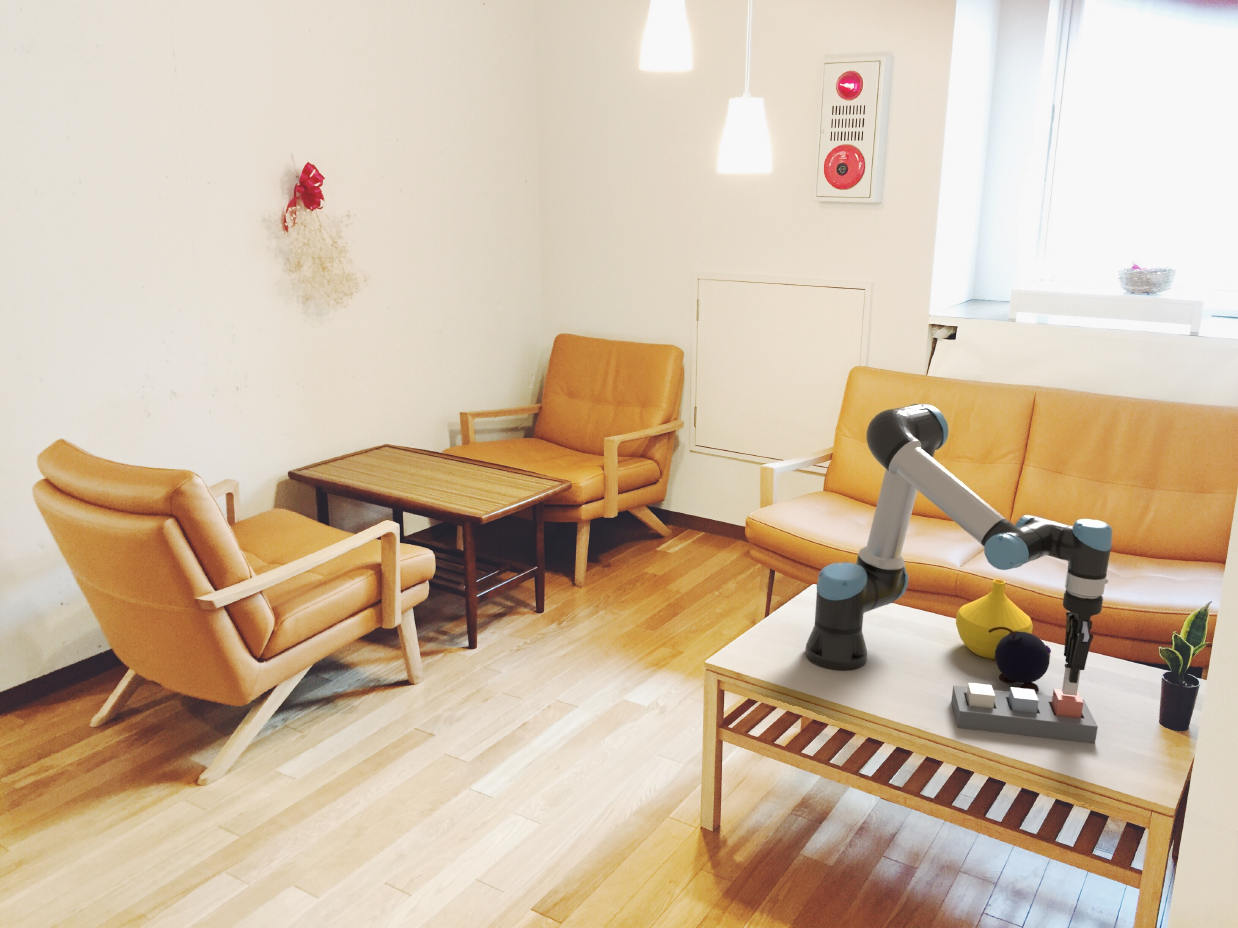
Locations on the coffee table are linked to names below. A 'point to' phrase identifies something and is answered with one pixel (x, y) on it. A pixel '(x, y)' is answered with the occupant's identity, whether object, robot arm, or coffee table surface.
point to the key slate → (1023, 700)
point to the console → (1023, 718)
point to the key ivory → (980, 695)
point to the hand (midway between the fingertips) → (1069, 693)
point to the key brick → (1067, 704)
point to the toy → (1021, 658)
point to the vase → (990, 621)
